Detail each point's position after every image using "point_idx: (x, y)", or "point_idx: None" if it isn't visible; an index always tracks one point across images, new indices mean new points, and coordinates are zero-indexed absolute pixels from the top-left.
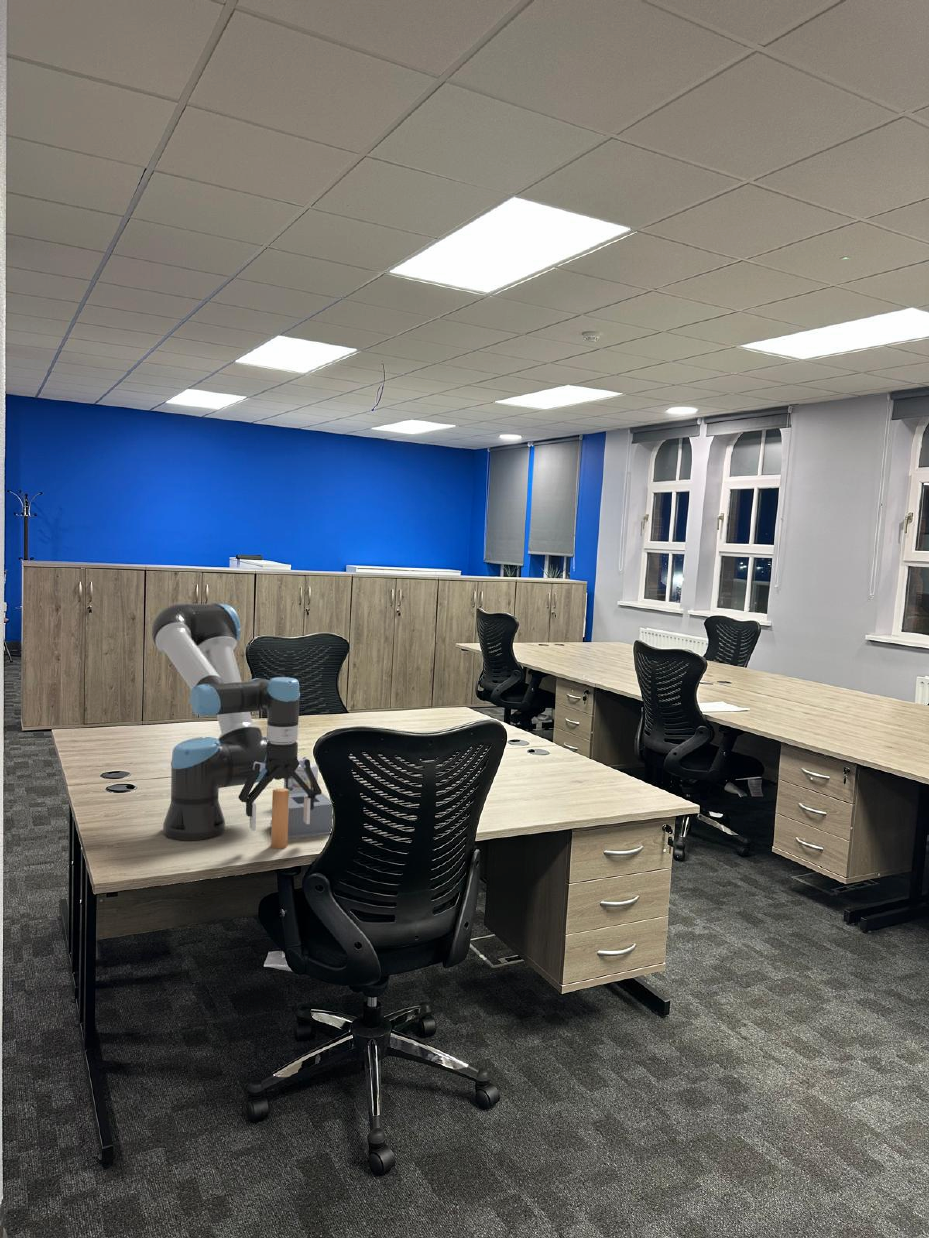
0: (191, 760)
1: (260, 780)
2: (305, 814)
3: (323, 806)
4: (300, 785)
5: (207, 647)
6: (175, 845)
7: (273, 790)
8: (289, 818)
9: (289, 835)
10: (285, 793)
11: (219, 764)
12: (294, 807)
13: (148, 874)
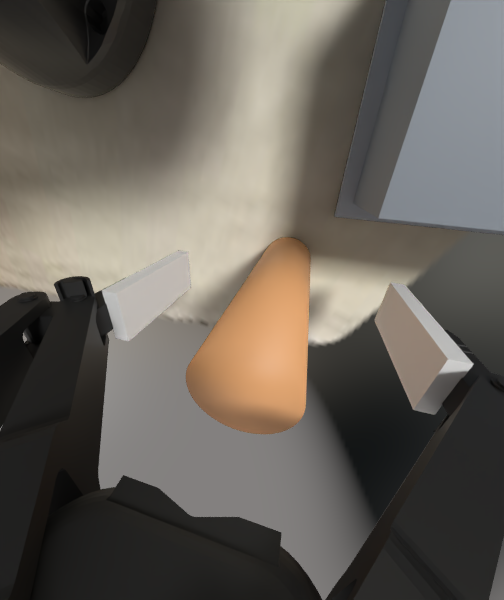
0: None
1: (14, 408)
2: (391, 323)
3: None
4: (390, 503)
5: None
6: (30, 119)
7: (194, 365)
8: (366, 207)
9: (352, 206)
10: (256, 427)
11: None
12: (415, 211)
13: (30, 280)
